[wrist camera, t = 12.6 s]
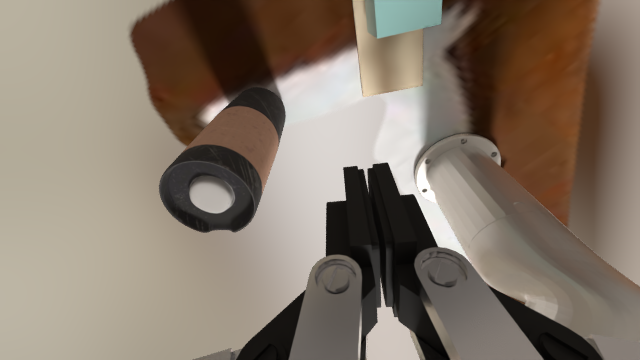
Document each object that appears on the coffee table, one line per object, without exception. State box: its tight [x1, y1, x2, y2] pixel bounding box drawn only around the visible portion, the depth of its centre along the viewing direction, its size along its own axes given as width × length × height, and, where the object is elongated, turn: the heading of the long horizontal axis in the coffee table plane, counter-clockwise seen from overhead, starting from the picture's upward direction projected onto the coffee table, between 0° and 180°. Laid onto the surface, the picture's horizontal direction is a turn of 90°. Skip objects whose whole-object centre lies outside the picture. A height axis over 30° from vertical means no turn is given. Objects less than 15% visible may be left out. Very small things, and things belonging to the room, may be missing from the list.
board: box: [352, 0, 423, 97], centre depth 31 cm, size 8×14×1 cm, turn 12°
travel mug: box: [159, 88, 285, 233], centre depth 29 cm, size 8×8×20 cm
